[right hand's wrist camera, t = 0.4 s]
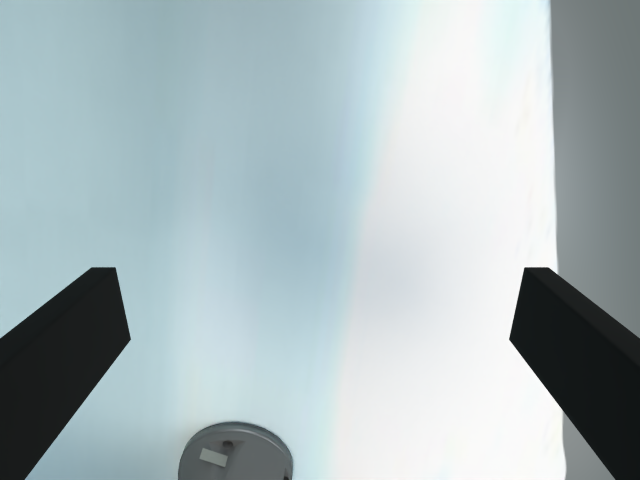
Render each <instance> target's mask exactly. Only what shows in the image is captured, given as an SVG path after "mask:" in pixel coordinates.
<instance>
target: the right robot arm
mask: <svg viewBox="0 0 640 480" xmlns="http://www.w3.org/2000/svg"><path fill="white" fill-rule="evenodd" d="M130 340H131V338H130V333H129V329H128V324H127V319H126V314H125V310H124V305H123V300H122V296H121V291H120V286H119V282H118V277H117V272H116V268H115V267H92V268H90V269H89V270H88V271H86V272H85V273H84V274H83V275H81V276H80V277H79V278H77V279H76V280H75V281H74V282H72V283H71V284H70V285H68V286H67V287H66V288H65V289H63V290H62V291H61V292H59V293H58V294H57V295H56V296H54V297H53V298H52V299H50V300H49V301H48V302H47V303H45V304H44V305H43V306H41V307H40V308H39V309H38V310H36V311H35V312H34V313H32V314H31V315H30V316H29V317H27V318H26V319H25V320H23V321H22V322H21V323H20V324H18V325H17V326H16V327H14V328H13V329H12V330H11V331H9V332H8V333H7V334H5V335H4V336H3V337H2V338H0V480H25V478H26V477H27V476H28V474H29V473H30V472H31V471H32V469H33V468H34V467H35V465H36V464H37V463H38V461H39V460H40V459H41V457H42V456H43V455H44V453H45V452H46V451H47V449H48V448H49V447H50V445H51V444H52V443H53V442H54V440H55V439H56V438H57V436H58V435H59V434H60V432H61V431H62V430H63V428H64V427H65V426H66V424H67V423H68V422H69V420H70V419H71V418H72V416H73V415H74V414H75V412H76V411H77V410H78V409H79V407H80V406H81V405H82V403H83V402H84V401H85V399H86V398H87V397H88V395H89V394H90V393H91V391H92V390H93V389H94V387H95V386H96V385H97V383H98V382H99V381H100V379H101V378H102V377H103V376H104V374H105V373H106V372H107V370H108V369H109V368H110V366H111V365H112V364H113V362H114V361H115V360H116V358H117V357H118V356H119V354H120V353H121V352H122V350H123V349H124V348H125V346H126V345H127V344H128V343H129V341H130ZM509 340H510V341H511V343H512V344H513V345H514V346H515V348H516V349H517V350H518V352H519V353H520V354H521V356H522V357H523V358H524V360H525V361H526V362H527V364H528V365H529V366H530V368H531V369H532V370H533V372H534V373H535V374H536V376H537V377H538V378H539V379H540V381H541V382H542V383H543V385H544V386H545V387H546V389H547V390H548V391H549V393H550V394H551V395H552V397H553V398H554V399H555V401H556V402H557V403H558V405H559V406H560V407H561V409H562V410H563V411H564V412H565V414H566V415H567V416H568V418H569V419H570V420H571V422H572V423H573V424H574V426H575V427H576V428H577V430H578V431H579V432H580V434H581V435H582V436H583V438H584V439H585V440H586V442H587V443H588V444H589V445H590V447H591V448H592V449H593V451H594V452H595V453H596V455H597V456H598V457H599V459H600V460H601V461H602V463H603V464H604V465H605V467H606V468H607V469H608V470H609V472H610V473H611V474H612V476H613V477H614V478H615V480H640V338H638V337H637V336H636V335H635V334H633V333H632V332H631V331H629V330H628V329H627V328H626V327H624V326H623V325H622V324H620V323H619V322H618V321H617V320H615V319H614V318H613V317H611V316H610V315H609V314H608V313H606V312H605V311H604V310H602V309H601V308H600V307H599V306H597V305H596V304H595V303H593V302H592V301H591V300H590V299H588V298H587V297H586V296H584V295H583V294H582V293H581V292H579V291H578V290H577V289H575V288H574V287H573V286H572V285H570V284H569V283H568V282H566V281H565V280H564V279H563V278H561V277H560V276H559V275H557V274H556V273H555V272H554V271H552V270H551V269H550V268H548V267H525V268H524V272H523V277H522V282H521V286H520V291H519V296H518V300H517V305H516V310H515V314H514V319H513V324H512V329H511V333H510V338H509Z"/></svg>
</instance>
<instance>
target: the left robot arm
mask: <svg viewBox="0 0 640 480" xmlns="http://www.w3.org/2000/svg"><path fill="white" fill-rule="evenodd" d="M292 471H293V461H292V457H291V454H290V452H289V450H288V448H287V447H286V445H285V444H284V443H283V442H282V441H281V440H280V439H279V438H278V437H277V436H275V435H274V434H272V433H271V432H269V431H267V430H265V429H263V428H260V427H257V426H254V425H250V424H245V423H222V424H217V425H213V426H210V427H208V428H205V429H203V430H201V431H200V432H198V433H197V434H196V435H194V436H193V437H192V438H191V439H190V440H189V442H188V443H187V445H186V447H185V449H184V452H183V454H182V457H181V460H180V464H179V470H178V480H292Z"/></svg>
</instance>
